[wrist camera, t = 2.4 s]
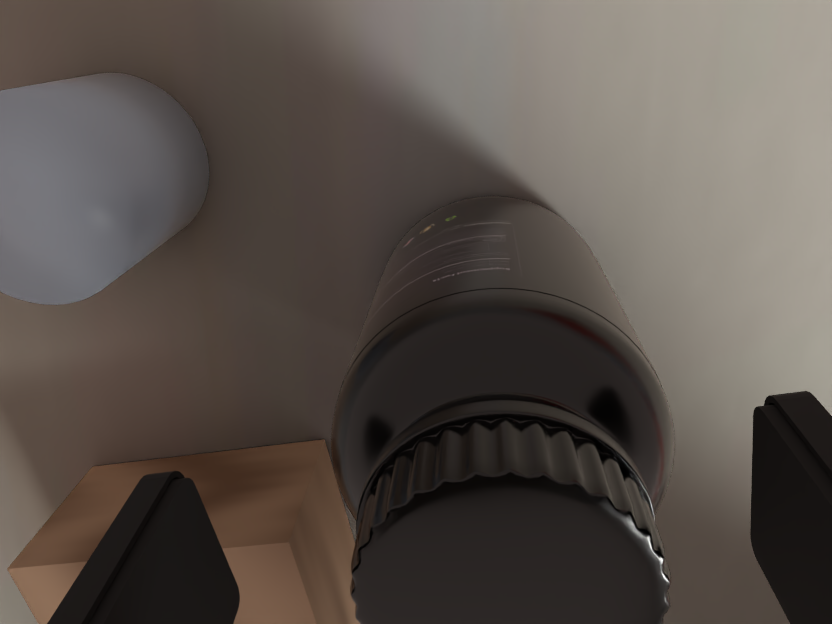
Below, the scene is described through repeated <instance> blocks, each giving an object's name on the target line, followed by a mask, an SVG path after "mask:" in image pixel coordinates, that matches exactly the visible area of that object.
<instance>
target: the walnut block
mask: <svg viewBox="0 0 832 624" xmlns="http://www.w3.org/2000/svg"><path fill="white" fill-rule="evenodd" d="M170 471H180V472H181V473H182V474H183V475H184V477H185V478H190V479H192V480H193V482H194V483H195V486H196V488H197V490H198V493H199V495H200V497H201V500H202V502H203V504H204V507H205V509H206V512H207V514H208V516H209V519H210V521H211V523H212V526H213V528H214V531H215V533H216V535H217V538H218V540H219V542H220V545H221V547H222V549H223V552H224V554H225V557H226V559H227V561H228V564H229V566H230V568H231V571H232V573H233V575H234V578H235V580H236V583H237V585H238V588H239V593H240V603H239V608H238V612H237V615H236V617H235V620H234V623H233V624H360V623H359V622H358V620H357V619H356V618H355V606H356V604H355V602H354V601H353V599H352V597H351V594H350V585H351V580H352V572H351V561H352V556H353V551H354V547H355V541H354V538H353V534H352V531H351V528H350V524H349V521H348V517H347V514H346V511H345V507H344V504H343V500H342V497H341V494H340V490H339V487H338V483H337V480H336V477H335V473H334V470H333V466H332V463H331V460H330V456H329V453H328V449H327V446H326V443H325V439H322V440H314V441H305V442H297V443H289V444H280V445H272V446H263V447H255V448H246V449H238V450H229V451H221V452H212V453H204V454H195V455H187V456H178V457H170V458H161V459H153V460H144V461H136V462H127V463H119V464H111V465H102V466H94V467H92V468H91V469H90V470H89V471H88V473H87V474H86V475H85V476H84V477H83V479H82V480H81V481H80V482H79V483H78V485H77V486H76V487H75V488H74V489H73V491H72V492H71V493H70V494H69V495H68V497H67V498H66V499H65V500H64V501H63V503H62V504H61V505H60V506H59V507H58V509H57V510H56V511H55V512H54V513H53V515H52V516H51V517H50V518H49V519H48V521H47V522H46V523H45V524H44V525H43V527H42V528H41V529H40V530H39V531H38V533H37V534H36V535H35V536H34V537H33V539H32V540H31V541H30V542H29V543H28V545H27V546H26V547H25V548H24V549H23V551H22V552H21V553H20V554H19V555H18V557H17V558H16V559H15V560H14V561H13V563H12V564H11V565H10V566H9V567H8V569H7V570H8V571H9V573H10V575H11V577H12V578H13V580H14V582H15V584H16V585H17V587H18V589H19V591H20V592H21V594H22V596H23V597H24V599H25V601H26V603H27V604H28V606H29V608H30V610H31V611H32V613H33V615H34V617H35V618H36V620H37V622H38V624H47V623H48V621H49V620H50V618H51V617H52V615H53V614H54V612H55V611H56V609H57V608H58V606H59V604H60V603H61V601H62V600H63V598H64V597H65V595H66V594H67V592H68V591H69V589H70V587H71V586H72V584H73V583H74V581H75V580H76V578H77V577H78V575H79V573H80V572H81V570H82V569H83V567H84V566H85V564H86V563H87V561H88V560H89V558H90V556H91V555H92V553H93V552H94V550H95V549H96V547H97V546H98V544H99V542H100V541H101V539H102V538H103V536H104V535H105V533H106V532H107V530H108V529H109V527H110V525H111V524H112V522H113V521H114V519H115V518H116V516H117V515H118V513H119V511H120V510H121V508H122V507H123V505H124V504H125V502H126V501H127V499H128V498H129V496H130V494H131V493H132V491H133V490H134V488H135V487H136V485H137V484H138V482H139V480H140V479H141V478H142V477H143V476H145V475H147V474H154V473H162V472H170Z"/></svg>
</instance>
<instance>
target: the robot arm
mask: <svg viewBox="0 0 832 624" xmlns="http://www.w3.org/2000/svg"><path fill="white" fill-rule="evenodd" d="M751 543H752V547H753V551H754V554H755V557H756V559H757V561H758V563H759V565H760V567H761V569H762V571H763V572H764V574H765V576H766V578H767V580H768V582H769V584H770V586H771V588H772V590H773V591H774V593H775V595H776V597H777V599H778V601H779V603H780V605H781V607H782V609H783V610H784V612H785V614H786V616H787V618H788V620H789V622H790V624H832V416H831V415H830V414H829V413H828V411H827V410H826V409H825V408H824V407H823V406H822V405H821V403H820V402H819V401H818V400H817V399H816V398H815V397H814V396H813V395H812V394H811V393H810V392H807V391H803V392H795V393H787V394H779V395H771V396H768V397H767V398H766V400H765V404H764V406H759V407H756V408H755V410H754V415H753V453H752V494H751ZM239 603H240V593H239V588H238V585H237V583H236V580H235V578H234V575H233V573H232V571H231V568H230V566H229V564H228V561H227V559H226V557H225V554H224V552H223V549H222V547H221V545H220V542H219V540H218V538H217V535H216V533H215V531H214V528H213V526H212V523H211V521H210V519H209V516H208V514H207V512H206V509H205V507H204V504H203V502H202V500H201V497H200V495H199V493H198V490H197V488H196V486H195V483H194V482H193V480H192V479H190V478H185V477H184V475H183V474H182V473H181V472H180V471H170V472H162V473H154V474H147V475H145V476H143V477H142V478H141V479H140V480H139V482H138V484H137V485H136V487H135V488H134V490H133V491H132V493H131V494H130V496H129V498H128V499H127V501H126V502H125V504H124V505H123V507H122V508H121V510H120V511H119V513H118V515H117V516H116V518H115V519H114V521H113V522H112V524H111V525H110V527H109V529H108V530H107V532H106V533H105V535H104V536H103V538H102V539H101V541H100V542H99V544H98V546H97V547H96V549H95V550H94V552H93V553H92V555H91V556H90V558H89V560H88V561H87V563H86V564H85V566H84V567H83V569H82V570H81V572H80V573H79V575H78V577H77V578H76V580H75V581H74V583H73V584H72V586H71V587H70V589H69V591H68V592H67V594H66V595H65V597H64V598H63V600H62V601H61V603H60V604H59V606H58V608H57V609H56V611H55V612H54V614H53V615H52V617H51V618H50V620H49V621H48V623H47V624H233V623H234V620H235V617H236V615H237V612H238V608H239Z"/></svg>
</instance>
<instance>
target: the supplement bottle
mask: <svg viewBox="0 0 832 624" xmlns="http://www.w3.org/2000/svg"><path fill="white" fill-rule="evenodd" d="M331 450H332V460H333V466H334V471H335V475H336V478H337V482H338V485H339V488H340V490H341V493H342V495H343V498H344V500H345V502H346V504H347V506H348V508H349V510H350V512H351V513H352V515H353V517H354V518H355V520H356V536H357V538H356V543H355V547H354V551H353V556H352V561H351V572H352V580H351V585H350V594H351V597H352V599H353V601H354V602H355V604H356V606H355V618H356V619H357V620H358V622H359V623H360V624H663V616H664V614H665V613H666V612H667V611H668V609H669V607H670V597H669V593H668V589H669V587H670V583H671V574H670V570H669V567H668V564H667V561H666V558H665V554H664V547H663V544H662V541H661V538H660V535H659V532H658V529H657V527H656V523H655V514H656V513H657V511H658V509H659V507H660V505H661V503H662V500H663V498H664V496H665V493H666V490H667V487H668V484H669V481H670V477H671V473H672V467H673V462H674V450H675V442H674V427H673V421H672V415H671V412H670V408H669V405H668V401H667V399H666V396H665V393H664V391H663V388H662V386H661V384H660V381H659V379H658V377H657V374H656V372H655V370H654V368H653V366H652V364H651V363H650V361H649V359H648V357H647V355H646V353H645V351H644V349H643V347H642V345H641V343H640V341H639V339H638V338H637V336H636V334H635V332H634V330H633V328H632V326H631V324H630V322H629V320H628V318H627V316H626V314H625V313H624V311H623V309H622V307H621V305H620V303H619V301H618V299H617V297H616V295H615V293H614V291H613V290H612V288H611V286H610V284H609V282H608V280H607V278H606V276H605V274H604V272H603V270H602V268H601V267H600V265H599V263H598V261H597V260H596V258H595V256H594V255H593V253H592V251H591V249H590V248H589V246H588V245H587V243H586V242H585V241H584V239H583V238H582V237H581V236H580V235H579V234H578V233H577V231H576V230H575V229H574V228H573V227H572V226H570V225H569V224H568V223H567V222H566V221H565V220H563V219H562V218H561V217H559V216H558V215H556V214H555V213H553V212H551V211H550V210H548V209H546V208H544V207H542V206H539V205H537V204H534V203H531V202H528V201H525V200H521V199H517V198H511V197H503V196H484V197H475V198H469V199H465V200H461V201H457V202H454V203H451V204H449V205H446V206H444V207H442V208H440V209H438V210H436V211H434V212H432V213H431V214H429V215H428V216H426V217H425V218H423V219H422V220H421V221H419V222H418V223H417V224H416V225H415V226H414V227H413V228H411V229H410V230H409V231H408V233H407V234H406V235H405V236H404V237H403V238H402V240H401V241H400V242H399V244H398V245H397V247H396V248H395V249H394V251H393V253H392V255H391V256H390V258H389V260H388V263H387V265H386V267H385V270H384V272H383V274H382V277H381V279H380V282H379V285H378V287H377V290H376V293H375V296H374V298H373V301H372V304H371V306H370V309H369V312H368V315H367V317H366V320H365V323H364V326H363V328H362V331H361V334H360V337H359V339H358V342H357V345H356V348H355V350H354V353H353V356H352V359H351V361H350V364H349V367H348V370H347V372H346V375H345V378H344V381H343V384H342V387H341V390H340V393H339V396H338V400H337V404H336V407H335V412H334V417H333V422H332V432H331Z"/></svg>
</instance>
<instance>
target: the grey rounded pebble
mask: <svg viewBox="0 0 832 624" xmlns="http://www.w3.org/2000/svg"><path fill="white" fill-rule="evenodd" d="M208 183H209V163H208V156H207V152H206V148H205V145H204V142H203V140H202V137H201V135H200V133H199V131H198V129H197V127H196V125H195V123H194V122H193V120H192V119H191V117H190V116H189V114H188V113H187V112H186V111H185V110H184V109H183V107H182V106H181V105H180V104H179V103H178V102H177V101H176V100H175V99H174V98H173V97H172V96H170V95H169V94H168V93H166V92H165V91H164V90H162V89H161V88H159V87H157V86H156V85H154V84H152V83H151V82H148V81H146V80H144V79H141V78H139V77H135V76H132V75H128V74H122V73H100V74H93V75H87V76H82V77H76V78H70V79H64V80H58V81H52V82H47V83H41V84H35V85H29V86H23V87H17V88H11V89H6V90H0V292H2V293H4V294H6V295H9V296H11V297H14V298H16V299H20V300H23V301H27V302H31V303H38V304H47V305H60V304H69V303H73V302H78V301H81V300H84V299H86V298H89V297H91V296H93V295H94V294H96V293H98V292H100V291H101V290H102V289H104V288H105V287H106V286H108V285H109V284H110V283H112V282H113V281H114V280H116V279H117V278H118V277H120V276H121V275H122V274H124V273H125V272H126V271H128V270H129V269H130V268H132V267H133V266H134V265H136V264H137V263H138V262H140V261H141V260H142V259H143V258H145V257H146V256H147V255H149V254H150V253H151V252H153V251H154V250H155V249H157V248H158V247H159V246H161V245H162V244H163V243H165V242H166V241H167V240H169V239H170V238H171V237H173V236H174V235H175V234H177V233H178V232H179V231H181V230H182V229H183V228H184V227H186V226H187V225H188V224H189V223H190V222H191V221H192V220H193V219H194V218H195V216H196V215H197V213H198V212H199V210H200V209H201V207H202V205H203V202H204V200H205V197H206V194H207V190H208Z"/></svg>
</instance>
